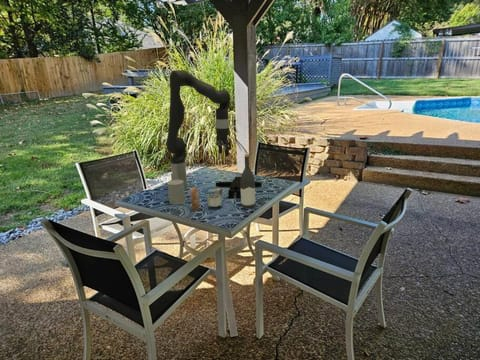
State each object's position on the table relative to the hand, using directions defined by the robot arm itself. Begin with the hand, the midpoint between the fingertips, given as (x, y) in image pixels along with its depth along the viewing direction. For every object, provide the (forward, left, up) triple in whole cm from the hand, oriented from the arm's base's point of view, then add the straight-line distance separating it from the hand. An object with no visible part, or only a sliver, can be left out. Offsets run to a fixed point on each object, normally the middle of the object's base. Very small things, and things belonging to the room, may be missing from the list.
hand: (223, 154), depth 184 cm
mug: (-2, -13, -27) cm, 30 cm away
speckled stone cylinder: (-27, -11, -27) cm, 40 cm away
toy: (+4, +14, -27) cm, 31 cm away
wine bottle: (+16, -10, -27) cm, 33 cm away
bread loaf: (-12, -20, -27) cm, 35 cm away
